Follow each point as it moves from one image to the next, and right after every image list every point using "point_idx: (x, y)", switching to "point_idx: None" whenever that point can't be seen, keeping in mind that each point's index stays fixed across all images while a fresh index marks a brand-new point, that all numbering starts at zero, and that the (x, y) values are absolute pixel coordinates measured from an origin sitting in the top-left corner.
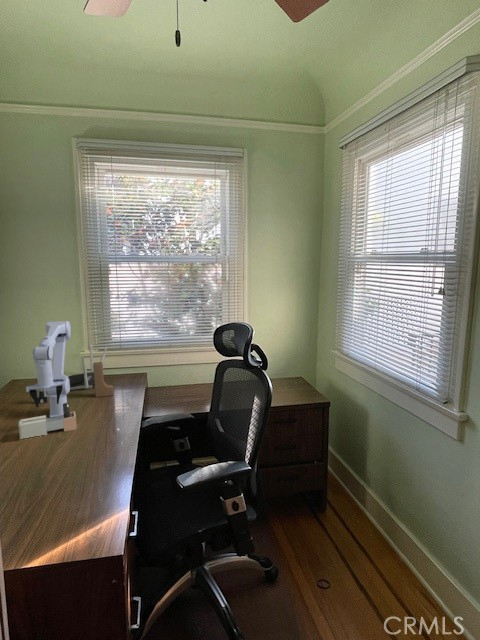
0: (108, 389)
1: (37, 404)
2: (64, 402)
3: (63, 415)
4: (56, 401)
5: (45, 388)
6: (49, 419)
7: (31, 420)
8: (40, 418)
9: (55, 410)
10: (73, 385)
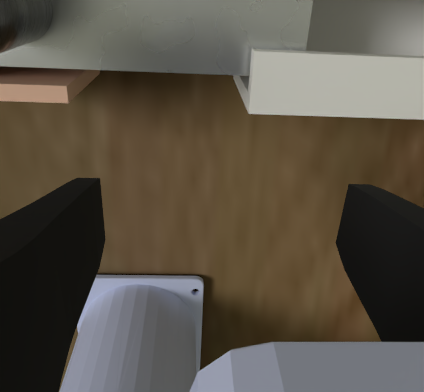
0: None
1: (378, 194)
2: (76, 367)
3: (65, 80)
4: (137, 378)
5: (385, 348)
6: (214, 25)
7: (402, 56)
8: (310, 54)
9: (159, 315)
10: None
